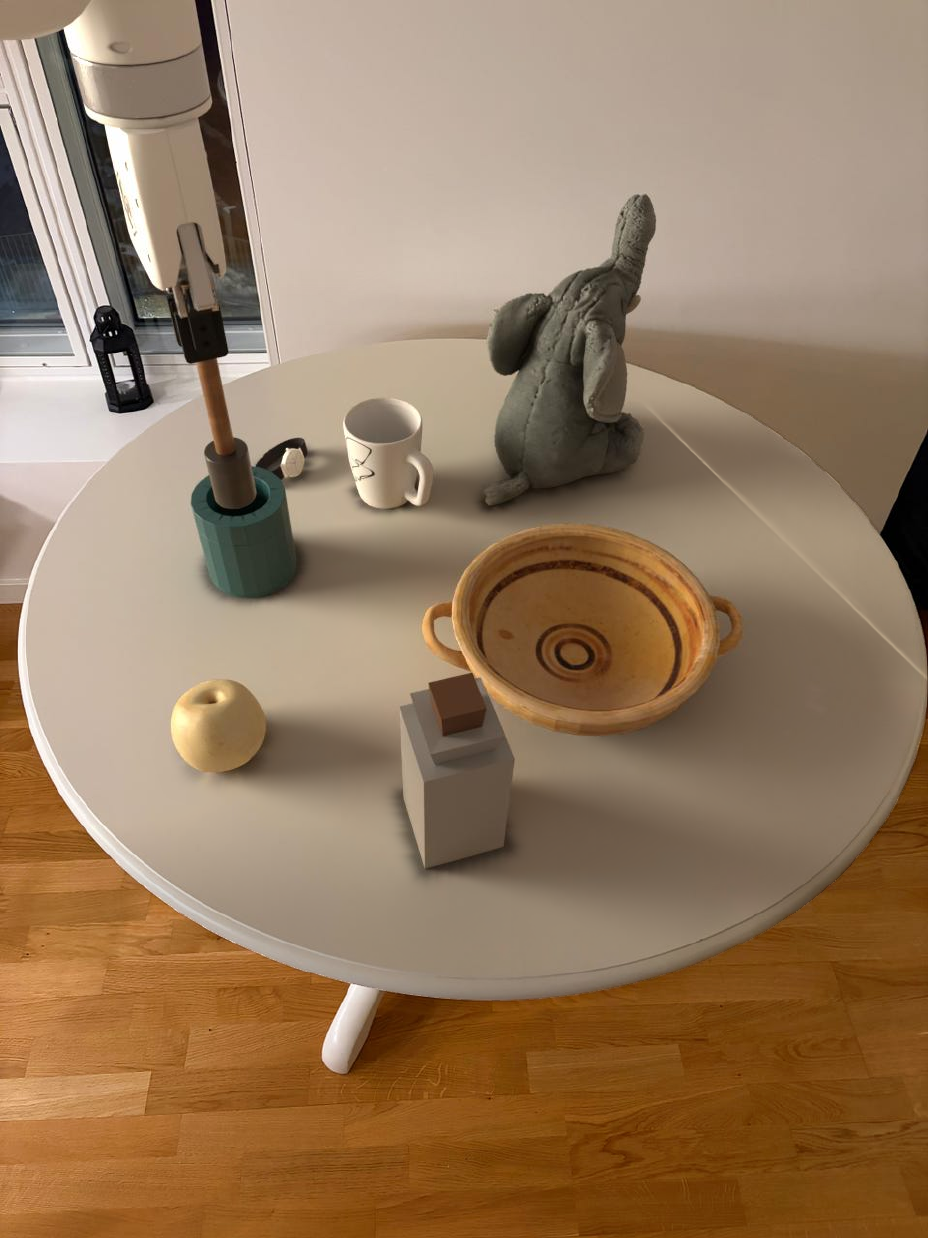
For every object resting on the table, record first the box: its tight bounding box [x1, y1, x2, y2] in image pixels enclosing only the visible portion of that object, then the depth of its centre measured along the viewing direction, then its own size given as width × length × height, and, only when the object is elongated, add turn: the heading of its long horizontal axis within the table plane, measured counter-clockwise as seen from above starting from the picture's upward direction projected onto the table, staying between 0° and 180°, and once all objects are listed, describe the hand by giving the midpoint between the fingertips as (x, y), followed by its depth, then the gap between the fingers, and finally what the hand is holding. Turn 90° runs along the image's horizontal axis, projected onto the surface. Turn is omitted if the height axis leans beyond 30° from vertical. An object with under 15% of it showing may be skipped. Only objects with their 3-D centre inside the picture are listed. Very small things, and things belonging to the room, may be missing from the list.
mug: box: [342, 396, 435, 510], centre depth 99 cm, size 11×8×10 cm
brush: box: [182, 284, 257, 509], centre depth 71 cm, size 4×4×20 cm
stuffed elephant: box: [483, 193, 657, 506], centre depth 99 cm, size 19×21×27 cm
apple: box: [170, 678, 267, 773], centre depth 78 cm, size 8×8×8 cm
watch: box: [255, 437, 309, 481], centre depth 104 cm, size 8×5×4 cm, turn 151°
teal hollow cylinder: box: [190, 465, 297, 599], centre depth 91 cm, size 9×9×10 cm
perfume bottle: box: [398, 672, 516, 870], centre depth 69 cm, size 7×7×18 cm
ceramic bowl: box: [421, 522, 744, 737], centre depth 84 cm, size 30×24×8 cm
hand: (202, 348), depth 68 cm, fingers closed on brush
